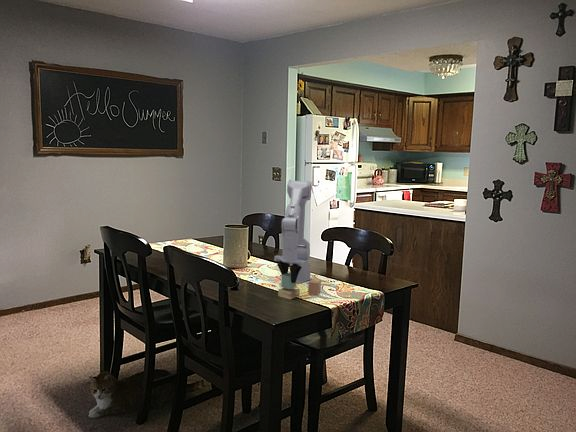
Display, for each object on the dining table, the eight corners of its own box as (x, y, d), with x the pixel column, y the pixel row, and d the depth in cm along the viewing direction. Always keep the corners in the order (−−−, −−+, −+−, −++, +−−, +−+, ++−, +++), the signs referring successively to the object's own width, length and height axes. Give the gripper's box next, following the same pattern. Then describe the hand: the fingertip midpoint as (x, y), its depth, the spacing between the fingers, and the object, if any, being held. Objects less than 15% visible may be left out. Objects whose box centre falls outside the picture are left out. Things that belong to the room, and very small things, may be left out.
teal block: (288, 284, 204) (288, 272, 203) (295, 286, 201) (295, 274, 200) (281, 287, 201) (281, 274, 200) (289, 289, 198) (289, 276, 197)
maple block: (288, 293, 206) (288, 286, 206) (299, 296, 202) (299, 289, 202) (278, 296, 202) (278, 289, 201) (289, 300, 198) (289, 292, 197)
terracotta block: (311, 291, 209) (311, 279, 208) (320, 292, 207) (320, 280, 207) (308, 294, 205) (308, 282, 204) (317, 295, 204) (317, 283, 203)
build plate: (229, 284, 219) (229, 273, 218) (246, 285, 218) (246, 274, 218) (223, 292, 206) (223, 281, 206) (241, 293, 206) (241, 281, 205)
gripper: (269, 246, 201) (268, 279, 203) (297, 252, 191) (297, 287, 193) (281, 243, 206) (280, 276, 208) (309, 249, 197) (308, 283, 199)
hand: (289, 281), depth 201 cm, fingers closed on teal block, 4 cm apart
